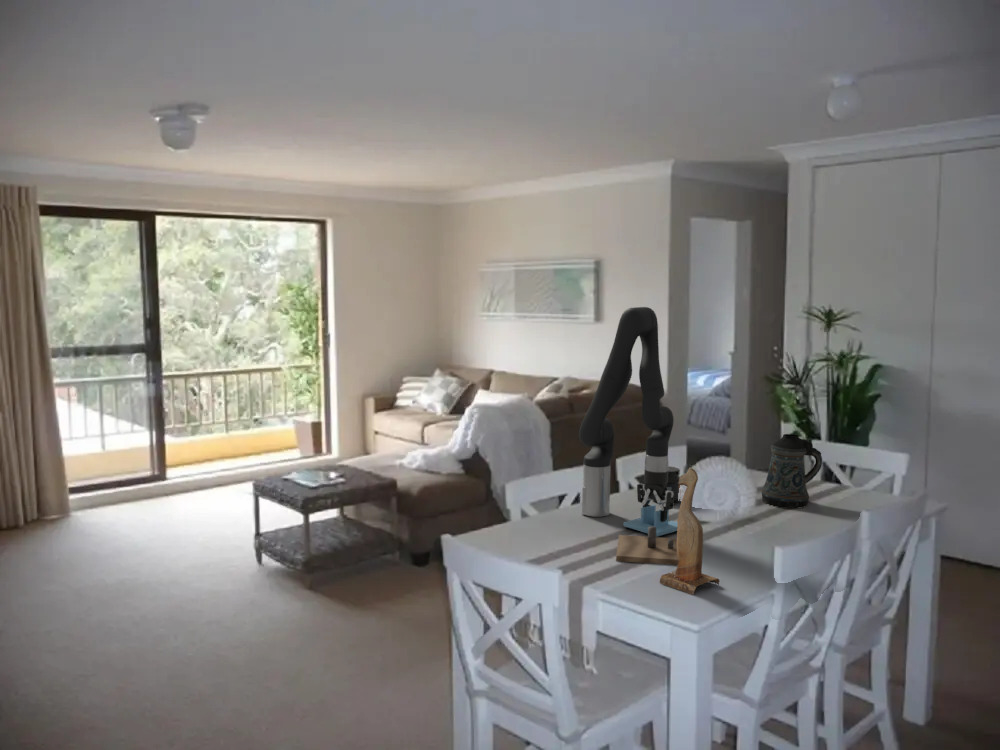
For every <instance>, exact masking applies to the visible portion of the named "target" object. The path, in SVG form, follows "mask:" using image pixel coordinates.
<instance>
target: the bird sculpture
mask: <svg viewBox="0 0 1000 750" xmlns="http://www.w3.org/2000/svg"><path fill="white" fill-rule="evenodd" d="M679 476H680V478H679V483H678V484H679V485H681V486H685V487H686V489H685V491H684V494H683V496H682V500H681V503H680V506H679V510H678V515H677V522H678V525H677V531H676V538H677V556H678V560H679V564H678V565H676V568H675V570H673V571H672V572H668V573H665V574H661V576H660V578H659V584H660V585H663V586H666V587H670V588H672V589H675V590H678V591H681V592H684V593H686V594H689V595H694V594H695V590H696V589H697V588H698V586H701V585H703V584H706V583H710V584H711V583H712V584H713V583H714V584H715V585H718V586H720V579H719V578H717V577H715V576H711V575H708V574H704V573H702V571H703V570H702V569H703V568H702V567H703V553H704V550H703V549H704V530H703V526H702V523H701V522H700V520H699V518H698V517H697V516H696V515H695V513H694V512H693V511H692V509H693V499H694V493H695V490H696V487H697V483H698V481H699V477H698V473H697V471H696V470H695V469H694V468H693V467H689V468H688V470H687V472H686V473H683V474H682V475H681V474H680V475H679Z"/></svg>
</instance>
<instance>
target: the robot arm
mask: <svg viewBox="0 0 1000 750" xmlns="http://www.w3.org/2000/svg"><path fill="white" fill-rule="evenodd" d="M638 337H639V339H640V342H641V350H642V351H641V359H640V360H641V361H640V363H639V372H638V376H639V377H638V378H639V383H640V390H641V393H642V402H641V417H642V422H643V424H644V426H645V427H646V428H647V429H648V430H650V431H652V432H651V434H650V436H648V437H647V438H646V441H645V457H644V458H645V459H644V473H643V479H644V480H643V481H644V482H642V483H638V484H637V485H636V490H637V491H636V492H637V502H638V503H641V505H642V508H643V507H647V506H650V503H651V501H653V500H652V499H654V500H657V502H656V503H657V505H659V508H660V510H661V513H660V521H661V522H665V521H666V520H667V511H668V510H673V509H674V504H675V503H674V497H675V492H674V491H669V490H667V487H666V485H667V483H668V466H669V441H670V438H671V435H672V431H673V427H674V414H673V411H672V410H671V409H670V408H669V407H668V406H664V405H661V399H662V398H663V397H664V396H665V389H664V382H663V376H662V372H661V365H660V354H659V353H660V348H659V347H660V346H659V325H658V317H657V314H656V312H655V311H654V310H653V309H652V308H650V307H648V306H638V307H629V308H627V309H625V310H624V311H623V312H622V314H621V317H620V318H619V322H618V325H617V330H616V333H615V337H614V341H613V344H612V348H611V349H610V350H611V351H610V353H609V356H608V359H607V361H606V364H605V367H604V369H603V372H602V374H601V377H600V381H599V383H598V386H597V389H596V392H595V393H594V396H593V398H592V400H591V403H590V405H589V408H588V409H587V412H586V413H585V416H584V417H583V419H582V421H581V424H580V427H579V431H578V436H579V441H580V442H581V443H582V445H584V446H585V447H591V448H590V450H589V452H588V453H586V454H585V455H584V457H583V465H582V466H583V467H582V468H583V471H582V472H583V474H582V475H583V478H582V480H583V482H582V484H583V485H582V493H581V495H582V496H581V497H582V498H581V501H582V502H581V505H582V506H581V515H582V516H583V515H584V516H588V517H593V518H594V517H595V518H597V517H598V518H600V517H607V516H609V515H610V511H611V509H610V508H611V507H610V506H611V505H610V503H611V463H612V462H611V461H612V458H613V456H614V444H615V429H614V425H613V423H612V421H611V420H610V419H609V418H607V416H608V414H609V413H610V411H611V410H612V409H613V408H614V406H616V404H618V402H619V401H620V400H621V399H622V398H623V396H624V395H625V393H626V391H627V389H628V387H629V384H630V382H631V378H632V375H633V366H632V352H633V349H634V346H635V343H636V341H637V339H638ZM665 495H666V496H665ZM666 497H667V498H666ZM661 499H663V501H661Z"/></svg>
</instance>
